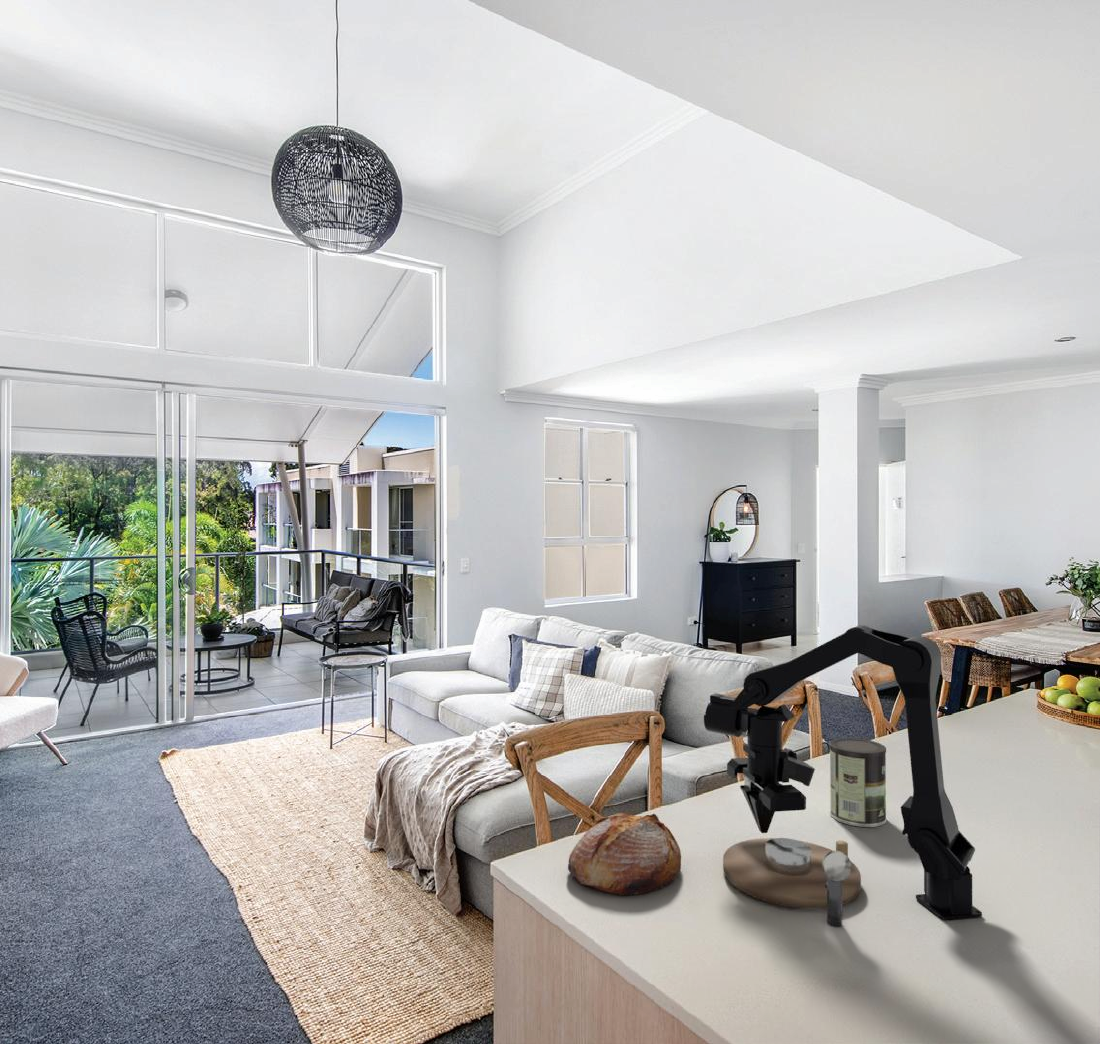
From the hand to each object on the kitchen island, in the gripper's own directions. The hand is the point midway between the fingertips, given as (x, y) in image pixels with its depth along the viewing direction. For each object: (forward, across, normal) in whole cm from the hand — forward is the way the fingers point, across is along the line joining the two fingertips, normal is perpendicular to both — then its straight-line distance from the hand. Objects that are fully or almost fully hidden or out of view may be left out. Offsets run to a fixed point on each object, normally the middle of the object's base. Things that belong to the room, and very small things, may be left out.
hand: (763, 832), depth 128 cm
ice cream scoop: (+4, -23, 0) cm, 23 cm away
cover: (+2, -9, 0) cm, 9 cm away
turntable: (+4, -9, 0) cm, 10 cm away
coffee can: (+4, +12, -26) cm, 29 cm away
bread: (+4, -3, +25) cm, 26 cm away
